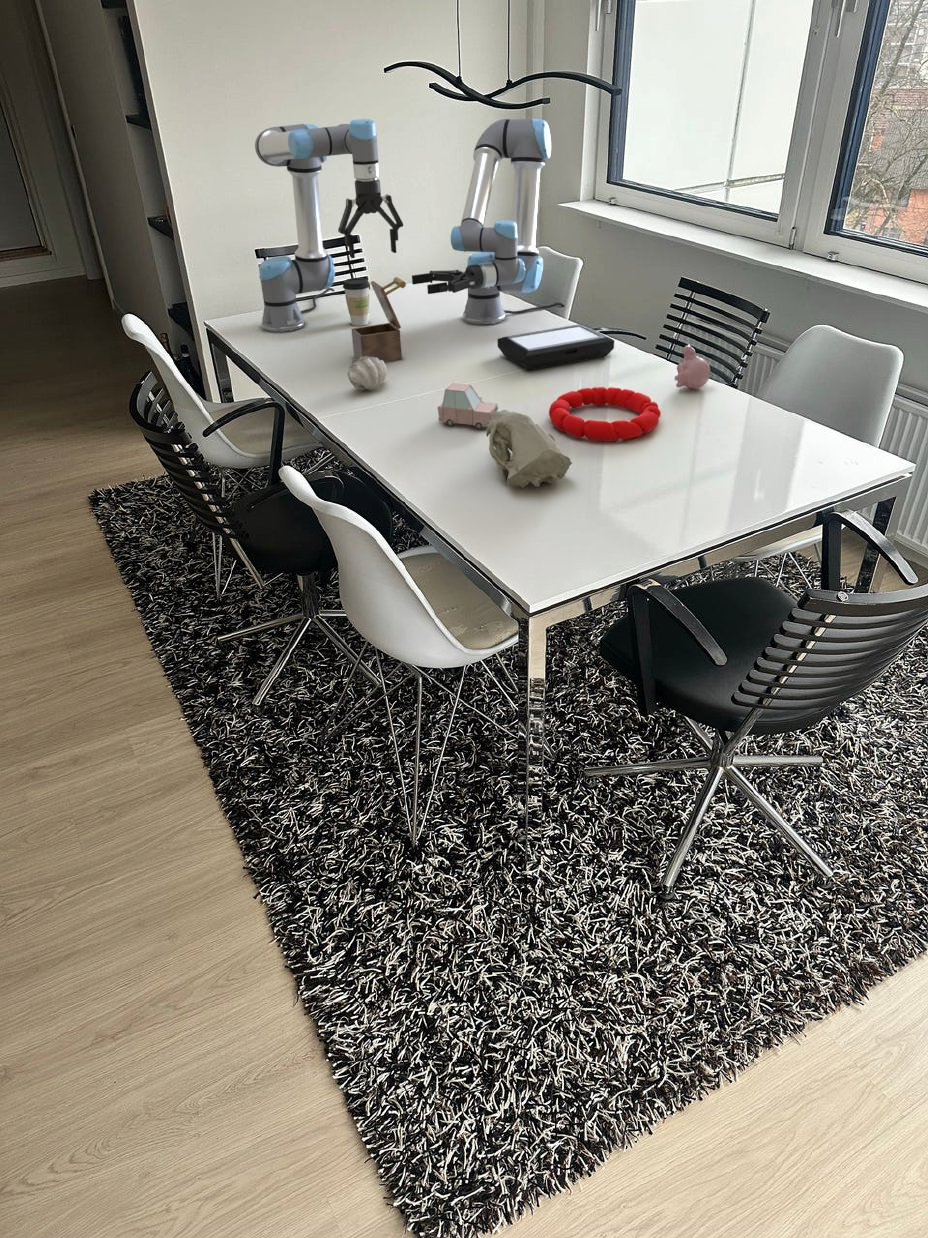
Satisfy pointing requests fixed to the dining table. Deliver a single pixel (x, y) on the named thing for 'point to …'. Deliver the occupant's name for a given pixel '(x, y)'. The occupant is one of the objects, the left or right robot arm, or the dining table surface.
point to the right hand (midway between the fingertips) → (419, 284)
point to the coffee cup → (357, 300)
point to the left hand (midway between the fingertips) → (373, 254)
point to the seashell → (367, 372)
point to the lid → (384, 299)
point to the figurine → (692, 370)
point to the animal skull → (525, 450)
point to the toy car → (465, 406)
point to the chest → (377, 342)
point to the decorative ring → (604, 428)
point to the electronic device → (555, 346)
